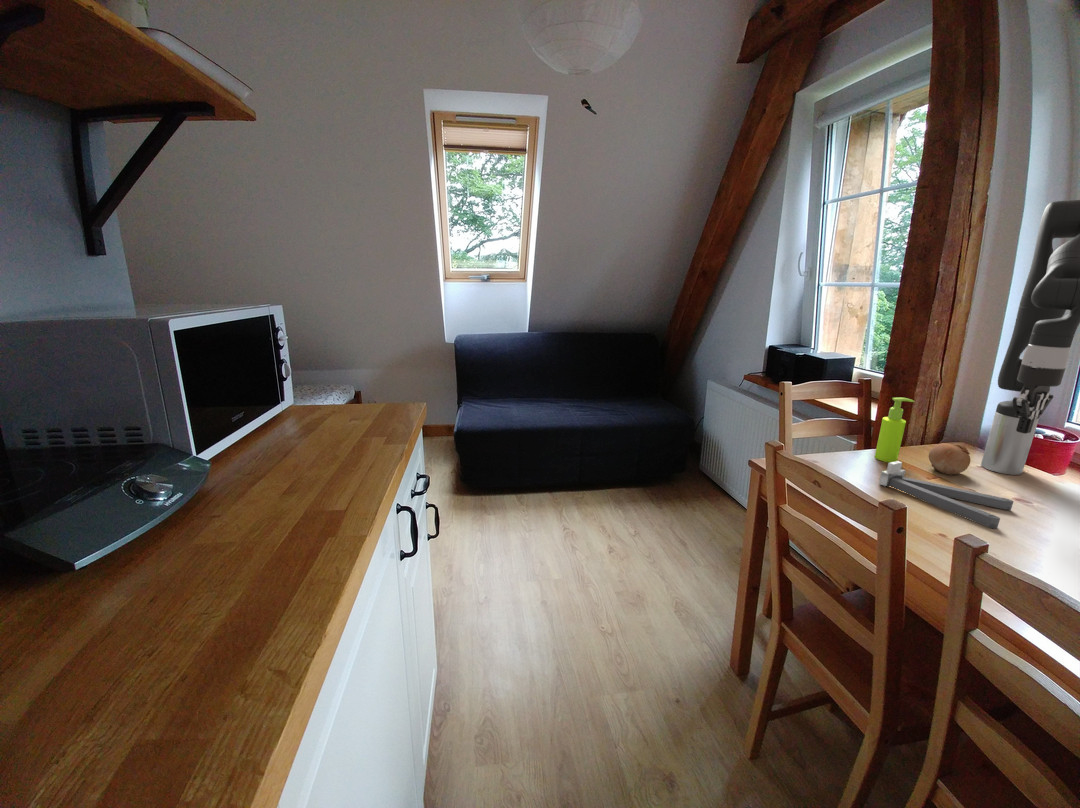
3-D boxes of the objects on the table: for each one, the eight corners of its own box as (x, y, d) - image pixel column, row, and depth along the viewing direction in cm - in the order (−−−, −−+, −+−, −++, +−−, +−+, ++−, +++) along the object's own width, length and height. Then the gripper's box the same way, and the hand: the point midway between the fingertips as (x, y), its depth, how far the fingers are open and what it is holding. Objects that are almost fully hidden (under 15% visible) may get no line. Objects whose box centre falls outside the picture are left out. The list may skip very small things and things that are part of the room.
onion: (957, 482, 143) (983, 456, 139) (948, 481, 138) (976, 454, 134) (925, 461, 150) (950, 435, 146) (915, 459, 144) (941, 433, 140)
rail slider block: (878, 483, 134) (883, 463, 133) (895, 479, 137) (899, 459, 135) (886, 486, 133) (890, 465, 131) (902, 482, 135) (907, 462, 133)
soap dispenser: (904, 463, 149) (918, 401, 143) (879, 461, 150) (893, 400, 145) (895, 456, 155) (908, 396, 149) (871, 454, 156) (883, 395, 150)
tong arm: (900, 486, 133) (902, 479, 132) (901, 483, 134) (902, 476, 134) (1011, 510, 120) (1014, 503, 119) (1010, 507, 121) (1013, 500, 121)
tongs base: (880, 483, 135) (881, 475, 134) (890, 480, 137) (892, 472, 136) (994, 529, 112) (997, 519, 111) (1005, 525, 113) (1008, 516, 113)
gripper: (1038, 359, 121) (1018, 424, 126) (1008, 363, 116) (989, 431, 121) (1079, 365, 114) (1057, 433, 119) (1049, 369, 110) (1027, 440, 114)
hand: (1022, 432), depth 120 cm, fingers closed
